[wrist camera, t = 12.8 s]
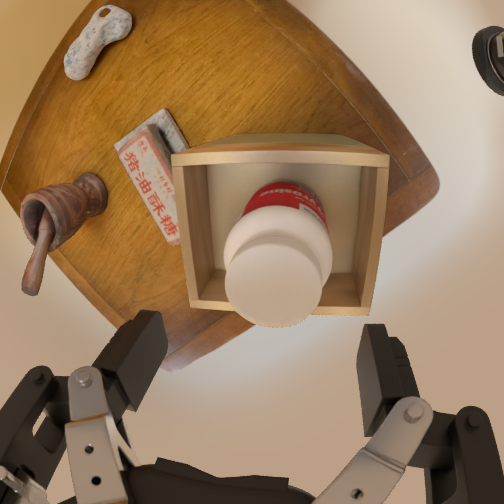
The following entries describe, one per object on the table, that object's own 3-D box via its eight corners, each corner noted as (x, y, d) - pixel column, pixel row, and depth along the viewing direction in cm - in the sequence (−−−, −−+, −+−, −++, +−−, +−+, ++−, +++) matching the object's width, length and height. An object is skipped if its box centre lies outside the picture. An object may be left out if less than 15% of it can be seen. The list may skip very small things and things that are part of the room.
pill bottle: (337, 198, 23) (363, 263, 13) (303, 262, 26) (302, 354, 16) (263, 165, 23) (233, 205, 13) (235, 232, 25) (194, 311, 16)
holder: (370, 146, 21) (390, 155, 16) (358, 278, 26) (369, 316, 21) (197, 145, 23) (170, 154, 18) (209, 273, 28) (190, 307, 23)
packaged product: (222, 229, 38) (162, 258, 42) (230, 217, 43) (175, 244, 46) (152, 106, 33) (98, 148, 36) (168, 106, 37) (117, 143, 40)
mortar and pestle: (131, 215, 45) (48, 278, 27) (102, 242, 48) (26, 306, 30) (91, 160, 42) (-5, 196, 24) (65, 191, 45) (-21, 236, 27)
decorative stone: (92, 90, 37) (72, 90, 32) (70, 71, 36) (49, 70, 31) (142, 20, 32) (125, 12, 27) (116, 4, 30) (98, -4, 26)
